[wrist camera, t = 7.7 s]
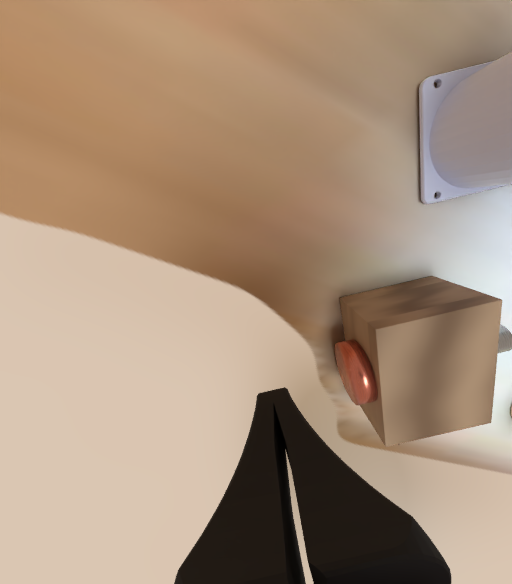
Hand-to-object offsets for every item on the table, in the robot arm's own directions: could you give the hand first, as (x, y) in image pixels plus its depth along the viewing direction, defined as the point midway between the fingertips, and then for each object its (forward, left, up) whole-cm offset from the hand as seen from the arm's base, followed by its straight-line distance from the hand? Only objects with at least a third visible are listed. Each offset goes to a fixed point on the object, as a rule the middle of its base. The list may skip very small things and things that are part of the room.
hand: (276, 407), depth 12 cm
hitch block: (-11, +5, -10) cm, 16 cm away
